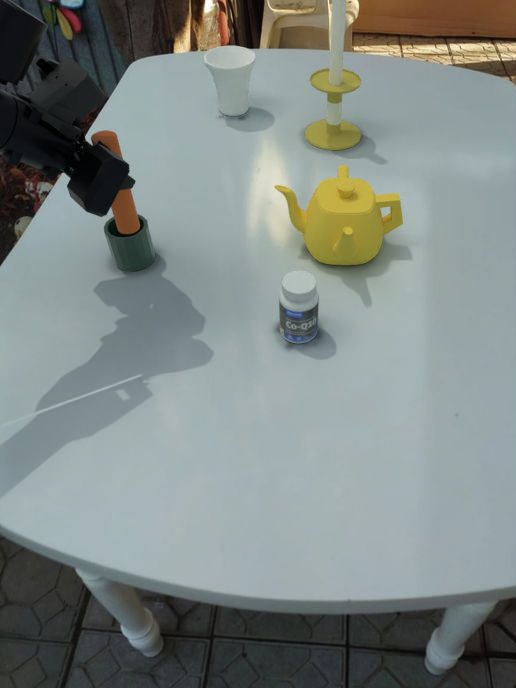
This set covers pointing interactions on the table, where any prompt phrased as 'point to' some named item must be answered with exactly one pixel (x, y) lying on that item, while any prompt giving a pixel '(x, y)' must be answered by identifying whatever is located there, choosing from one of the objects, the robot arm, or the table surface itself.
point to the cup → (231, 77)
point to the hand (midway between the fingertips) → (126, 178)
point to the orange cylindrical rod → (124, 199)
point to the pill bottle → (298, 307)
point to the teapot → (344, 219)
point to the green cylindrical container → (130, 246)
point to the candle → (334, 91)
